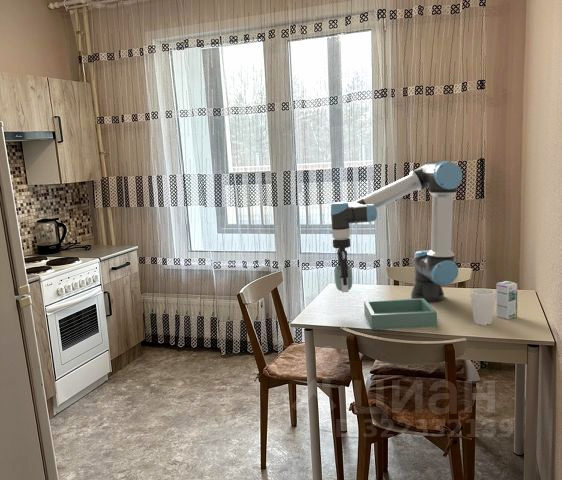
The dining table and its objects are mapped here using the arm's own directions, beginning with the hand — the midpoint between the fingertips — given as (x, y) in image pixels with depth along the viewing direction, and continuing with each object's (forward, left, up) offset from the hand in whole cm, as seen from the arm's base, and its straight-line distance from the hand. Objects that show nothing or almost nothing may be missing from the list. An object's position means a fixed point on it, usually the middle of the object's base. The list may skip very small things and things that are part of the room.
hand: (344, 289), depth 221 cm
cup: (0, 0, -1) cm, 1 cm away
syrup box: (-65, +12, -12) cm, 68 cm away
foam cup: (-53, +18, -12) cm, 58 cm away
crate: (-21, +10, -12) cm, 27 cm away
